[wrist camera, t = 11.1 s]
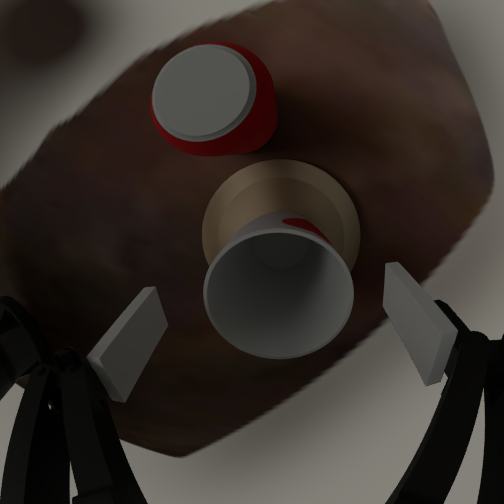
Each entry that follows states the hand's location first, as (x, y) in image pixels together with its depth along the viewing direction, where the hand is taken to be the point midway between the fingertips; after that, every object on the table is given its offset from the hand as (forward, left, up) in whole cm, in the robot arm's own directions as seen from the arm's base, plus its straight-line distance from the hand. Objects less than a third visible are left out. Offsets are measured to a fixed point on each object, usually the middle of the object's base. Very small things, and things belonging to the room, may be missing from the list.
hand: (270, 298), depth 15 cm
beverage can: (-2, +11, -11) cm, 15 cm away
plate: (0, 0, -11) cm, 11 cm away
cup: (0, 0, -10) cm, 10 cm away
